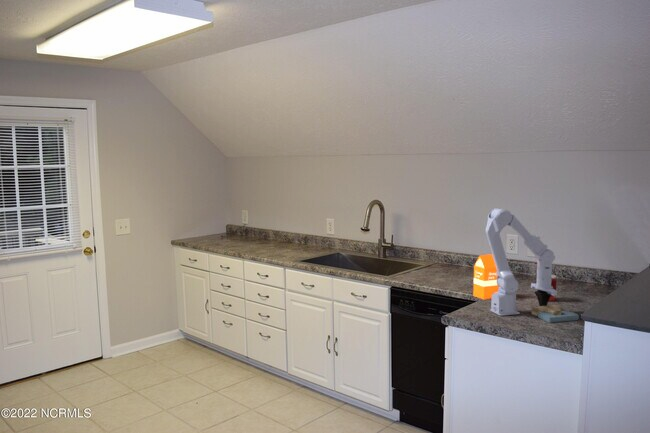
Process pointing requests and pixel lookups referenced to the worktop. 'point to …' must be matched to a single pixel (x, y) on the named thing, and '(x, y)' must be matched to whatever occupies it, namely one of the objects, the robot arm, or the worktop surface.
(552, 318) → the dock
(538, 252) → the robot arm
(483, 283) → the orange juice
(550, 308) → the t block
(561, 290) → the worktop surface
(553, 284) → the canned food
